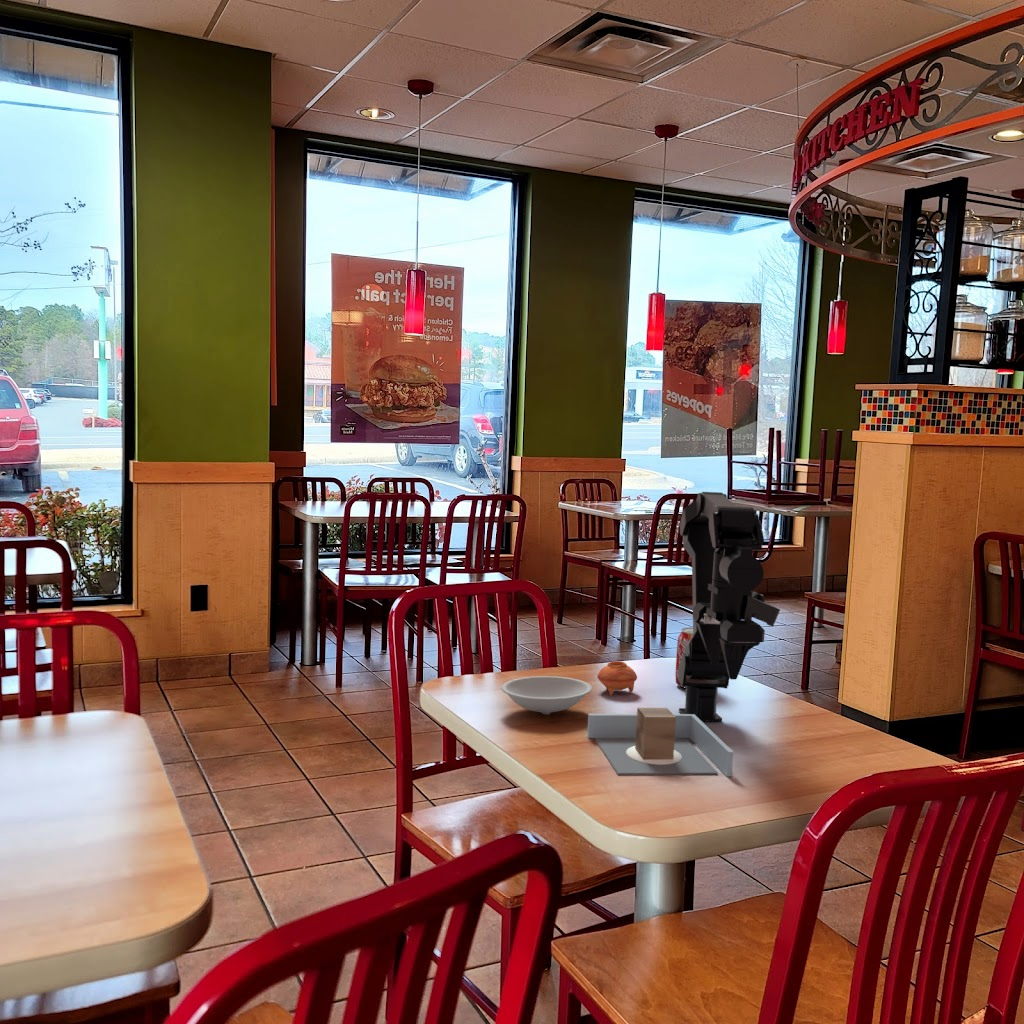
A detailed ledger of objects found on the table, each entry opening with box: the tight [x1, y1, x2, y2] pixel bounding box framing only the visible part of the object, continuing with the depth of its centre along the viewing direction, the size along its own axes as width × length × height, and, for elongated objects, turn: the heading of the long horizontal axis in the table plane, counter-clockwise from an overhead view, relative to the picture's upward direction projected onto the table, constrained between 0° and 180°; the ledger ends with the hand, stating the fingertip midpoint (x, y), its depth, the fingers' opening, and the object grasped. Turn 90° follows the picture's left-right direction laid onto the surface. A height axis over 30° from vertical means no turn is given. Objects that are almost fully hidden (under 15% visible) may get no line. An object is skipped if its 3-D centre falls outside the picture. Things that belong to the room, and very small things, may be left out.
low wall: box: [586, 713, 734, 778], centre depth 157 cm, size 19×19×4 cm
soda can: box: [675, 627, 693, 688], centre depth 199 cm, size 7×7×12 cm
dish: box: [501, 675, 593, 715], centre depth 177 cm, size 18×14×5 cm
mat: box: [594, 738, 719, 776], centre depth 156 cm, size 16×16×1 cm
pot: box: [597, 660, 638, 697], centre depth 193 cm, size 8×8×7 cm
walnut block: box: [635, 707, 676, 760], centre depth 156 cm, size 5×5×7 cm
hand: (723, 671), depth 162 cm, fingers open, 9 cm apart
